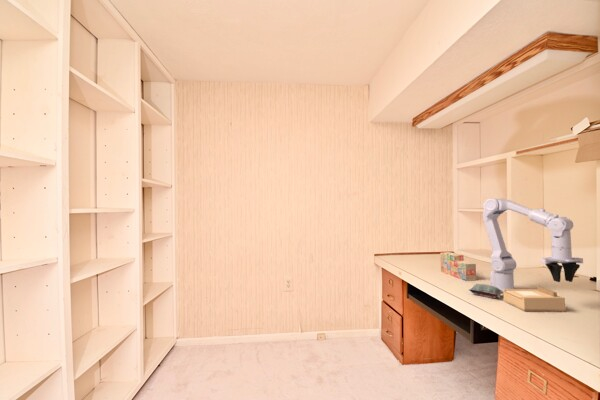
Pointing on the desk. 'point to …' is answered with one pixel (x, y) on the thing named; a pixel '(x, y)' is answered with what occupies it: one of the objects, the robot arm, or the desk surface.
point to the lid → (533, 293)
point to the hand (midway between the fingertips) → (562, 281)
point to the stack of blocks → (457, 266)
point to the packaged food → (486, 290)
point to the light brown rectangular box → (535, 302)
